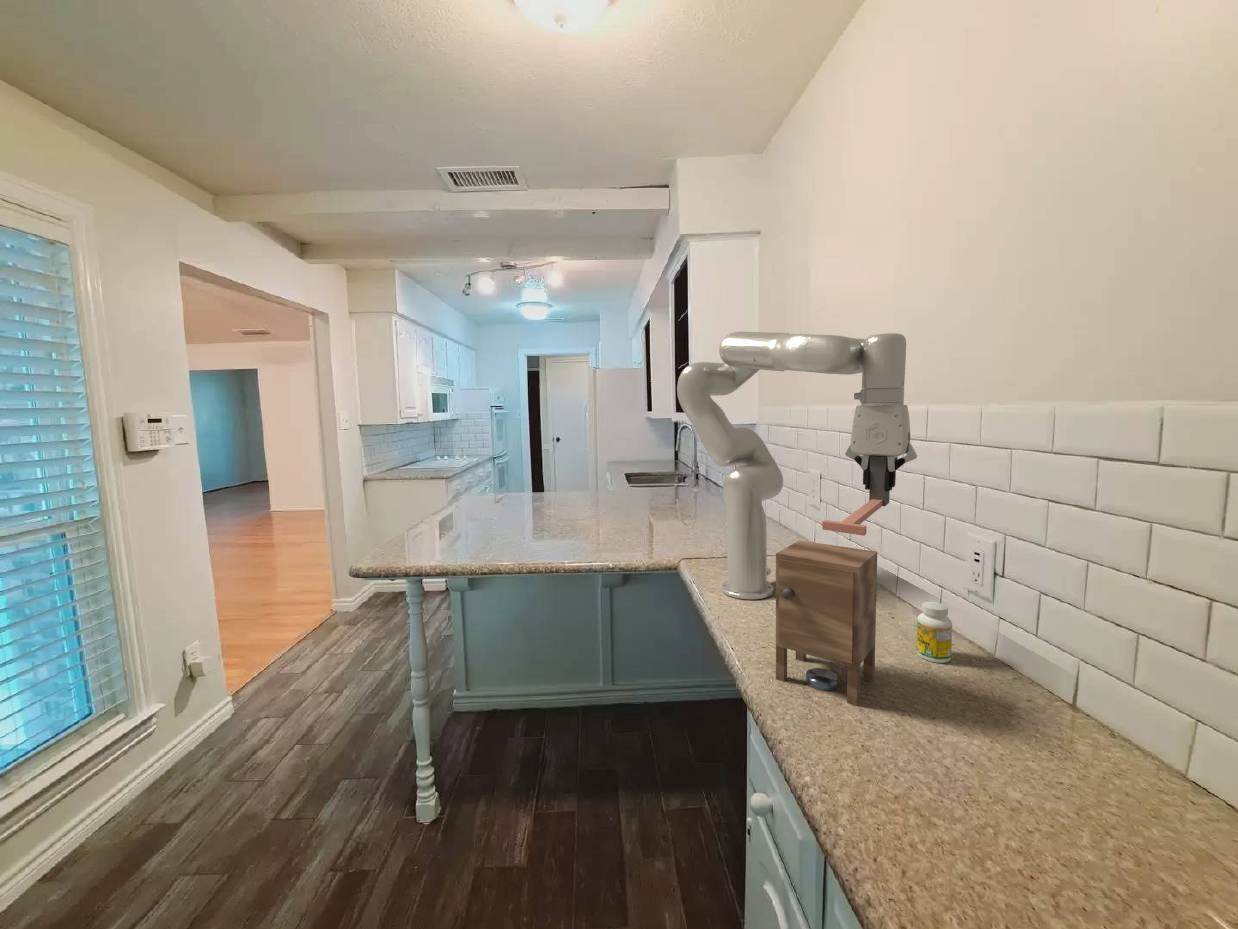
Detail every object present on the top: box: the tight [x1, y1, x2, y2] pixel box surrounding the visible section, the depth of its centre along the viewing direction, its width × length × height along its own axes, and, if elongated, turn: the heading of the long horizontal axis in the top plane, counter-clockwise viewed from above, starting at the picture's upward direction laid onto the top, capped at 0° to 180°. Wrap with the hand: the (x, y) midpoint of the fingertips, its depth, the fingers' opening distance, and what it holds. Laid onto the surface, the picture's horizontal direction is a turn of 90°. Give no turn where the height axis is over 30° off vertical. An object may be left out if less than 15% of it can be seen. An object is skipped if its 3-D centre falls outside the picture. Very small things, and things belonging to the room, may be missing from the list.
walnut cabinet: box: [775, 540, 878, 706], centre depth 85 cm, size 12×13×22 cm
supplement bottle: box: [916, 601, 953, 664], centre depth 93 cm, size 5×5×10 cm
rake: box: [821, 455, 891, 536], centre depth 97 cm, size 23×7×10 cm, turn 138°
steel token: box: [805, 667, 839, 692], centre depth 86 cm, size 5×5×2 cm
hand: (878, 488), depth 104 cm, fingers closed on rake, 3 cm apart
